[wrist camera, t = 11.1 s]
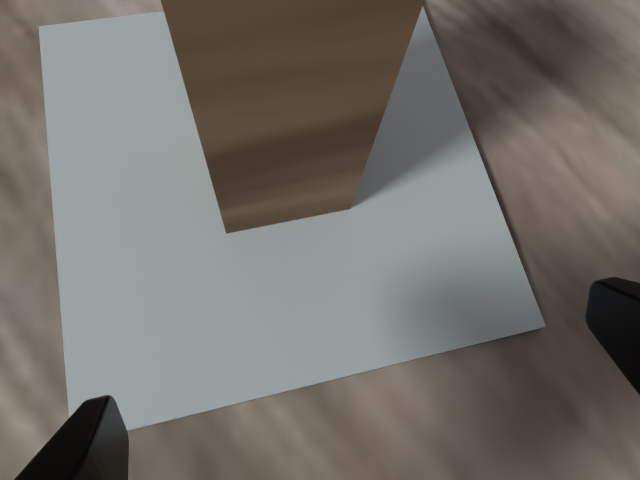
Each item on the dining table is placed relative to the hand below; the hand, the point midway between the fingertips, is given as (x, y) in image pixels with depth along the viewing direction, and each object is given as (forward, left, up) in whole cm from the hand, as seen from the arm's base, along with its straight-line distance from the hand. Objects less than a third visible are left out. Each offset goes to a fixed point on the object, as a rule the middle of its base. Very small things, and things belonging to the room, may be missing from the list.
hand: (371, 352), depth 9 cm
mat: (+6, -5, -8) cm, 11 cm away
